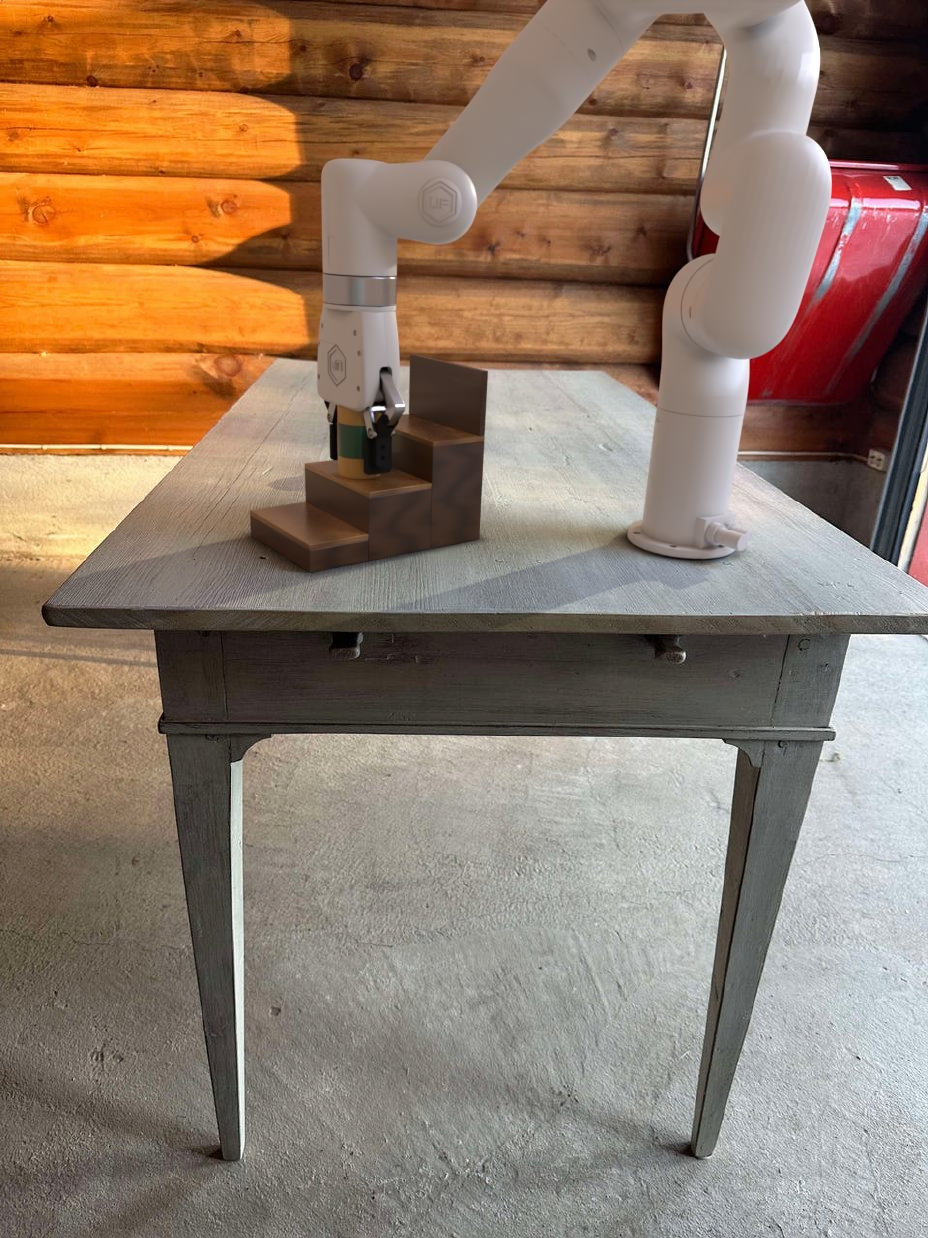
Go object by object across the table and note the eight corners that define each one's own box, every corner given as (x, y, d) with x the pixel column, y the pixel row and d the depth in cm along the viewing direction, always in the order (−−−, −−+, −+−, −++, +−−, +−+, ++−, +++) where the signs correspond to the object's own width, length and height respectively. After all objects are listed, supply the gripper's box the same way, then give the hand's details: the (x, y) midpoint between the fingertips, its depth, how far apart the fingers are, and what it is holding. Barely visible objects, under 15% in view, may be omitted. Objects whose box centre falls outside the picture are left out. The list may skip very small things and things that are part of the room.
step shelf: (309, 572, 93) (305, 383, 85) (250, 535, 103) (241, 362, 96) (479, 538, 105) (488, 370, 98) (411, 508, 116) (415, 353, 108)
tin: (352, 481, 98) (351, 406, 94) (328, 471, 101) (327, 398, 98) (391, 476, 100) (392, 402, 97) (367, 466, 104) (367, 395, 101)
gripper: (287, 287, 98) (292, 452, 105) (373, 301, 85) (372, 488, 92) (348, 287, 102) (349, 446, 109) (438, 301, 89) (433, 479, 96)
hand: (360, 464), depth 100 cm, fingers open, 6 cm apart
